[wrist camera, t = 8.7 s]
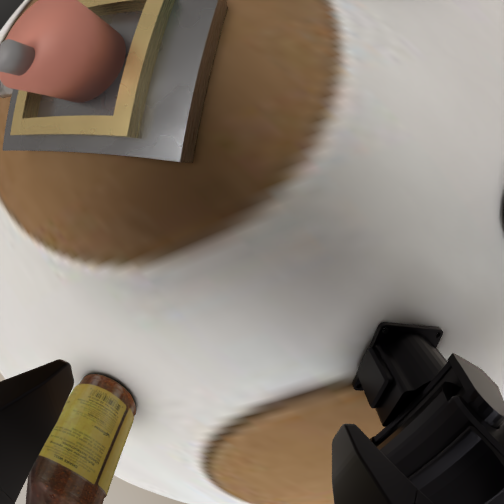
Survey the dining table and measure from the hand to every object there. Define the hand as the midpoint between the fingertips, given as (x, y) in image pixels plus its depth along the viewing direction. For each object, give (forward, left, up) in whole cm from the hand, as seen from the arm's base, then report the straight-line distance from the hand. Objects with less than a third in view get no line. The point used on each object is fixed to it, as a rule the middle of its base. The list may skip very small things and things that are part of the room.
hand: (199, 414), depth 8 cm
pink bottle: (+11, -12, -9) cm, 18 cm away
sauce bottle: (+10, +15, -12) cm, 21 cm away
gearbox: (+12, -12, -12) cm, 21 cm away
